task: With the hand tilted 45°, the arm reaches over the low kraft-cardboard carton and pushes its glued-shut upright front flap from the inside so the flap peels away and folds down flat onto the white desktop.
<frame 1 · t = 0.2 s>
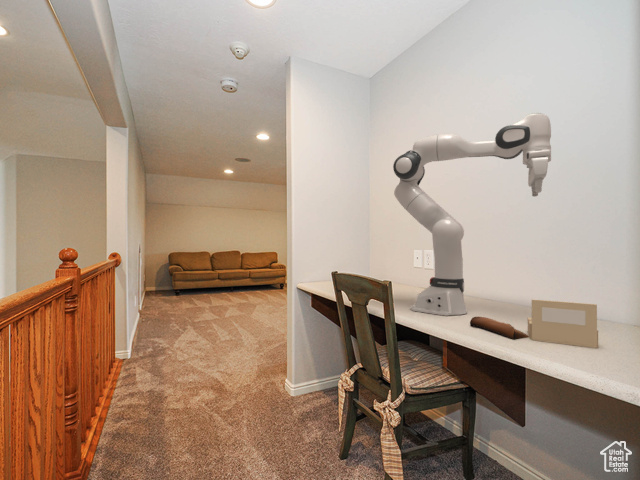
hand: (536, 194, 120), 47 cm above the table, tool pointing down, fingers open, 8 cm apart
flap: (562, 322, 93), point 6 cm above the table, hinge at 0.0°
carton: (560, 340, 97), on the table
brown tapered cylinder: (499, 333, 106), on the table
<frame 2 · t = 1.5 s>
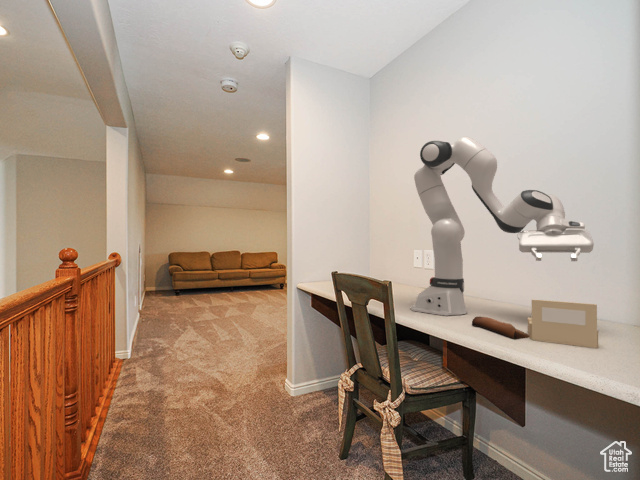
hand: (556, 259, 104), 24 cm above the table, tool tilted 45°, fingers open, 8 cm apart
nothing on the table moved.
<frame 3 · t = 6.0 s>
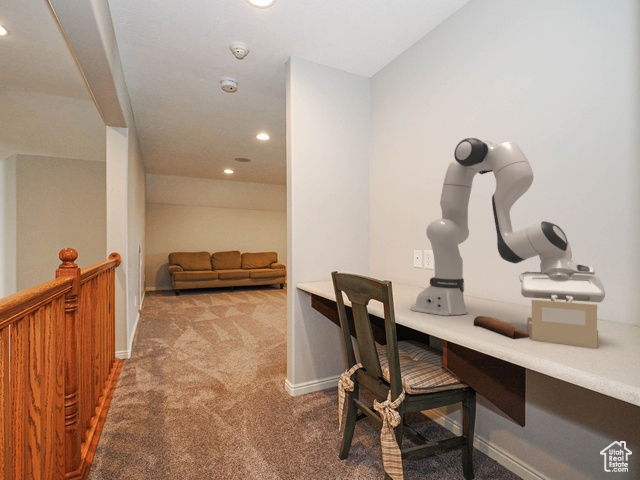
hand: (563, 309, 93), 10 cm above the table, tool tilted 45°, fingers closed, pressing on flap
flap: (562, 322, 92), point 6 cm above the table, hinge at 0.9°, touching gripper
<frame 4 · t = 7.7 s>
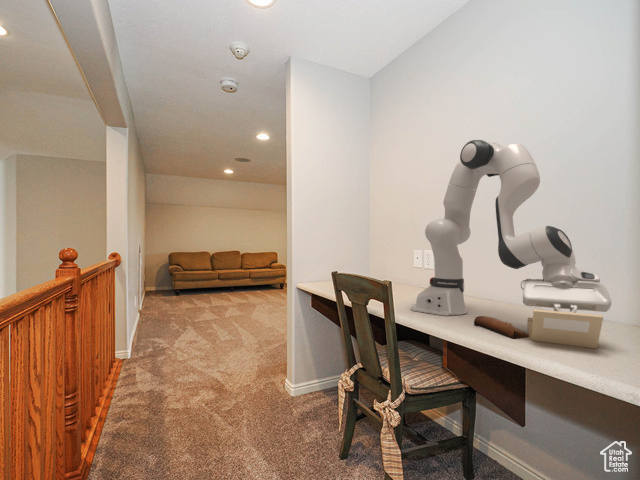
hand: (567, 319, 89), 8 cm above the table, tool tilted 45°, fingers closed, pressing on flap
flap: (564, 328, 90), point 5 cm above the table, hinge at 33.0°, touching gripper
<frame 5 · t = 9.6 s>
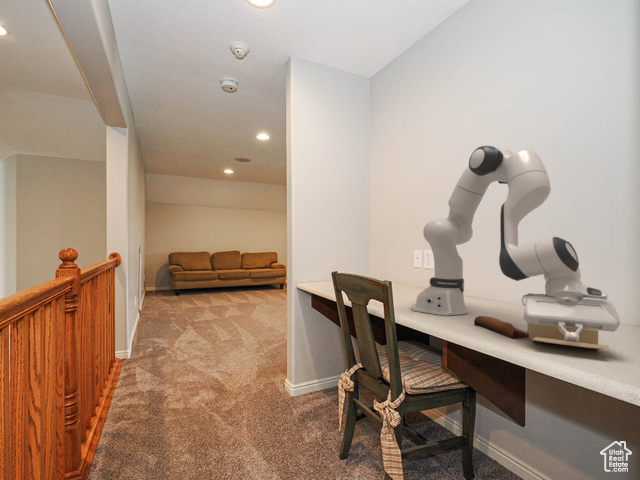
hand: (571, 340, 82), 5 cm above the table, tool tilted 45°, fingers closed, pressing on flap
flap: (566, 343, 88), point 2 cm above the table, hinge at 73.5°, touching gripper
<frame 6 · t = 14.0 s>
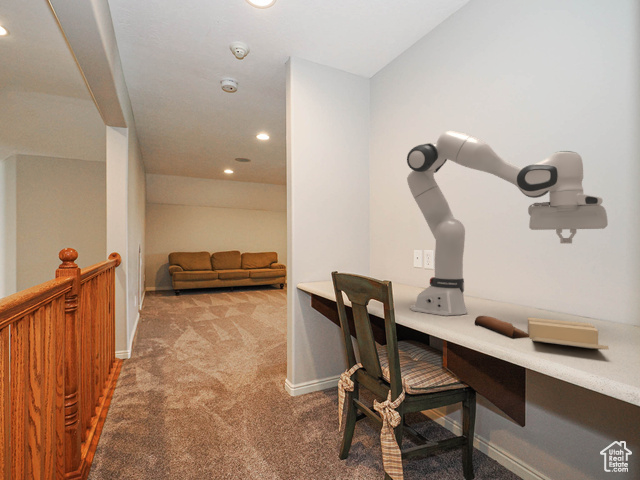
hand: (566, 243, 105), 29 cm above the table, tool pointing down, fingers closed
flap: (566, 343, 88), point 2 cm above the table, hinge at 73.7°
at the end: flap at +74° (first picture: +0°) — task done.
